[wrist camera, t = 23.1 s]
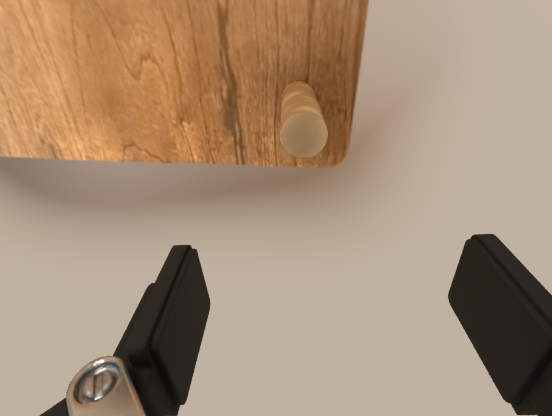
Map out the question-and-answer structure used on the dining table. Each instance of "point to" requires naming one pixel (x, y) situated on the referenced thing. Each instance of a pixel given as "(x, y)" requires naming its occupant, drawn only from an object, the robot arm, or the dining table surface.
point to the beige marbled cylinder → (301, 121)
